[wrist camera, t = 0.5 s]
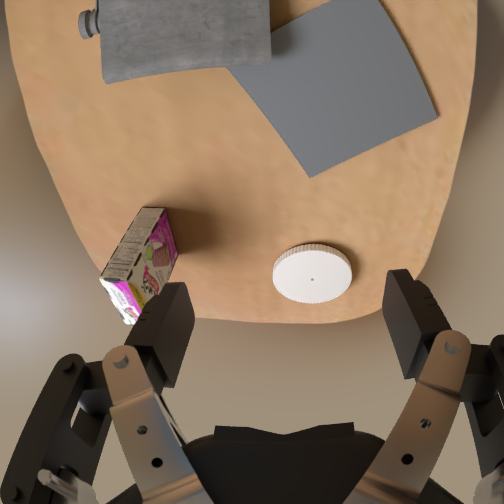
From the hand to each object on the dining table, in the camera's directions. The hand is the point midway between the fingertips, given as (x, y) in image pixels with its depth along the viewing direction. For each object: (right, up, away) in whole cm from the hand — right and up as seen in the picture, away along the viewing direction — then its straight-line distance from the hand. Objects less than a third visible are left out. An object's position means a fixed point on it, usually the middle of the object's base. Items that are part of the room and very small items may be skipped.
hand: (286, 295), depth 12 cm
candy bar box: (-17, +5, +40) cm, 44 cm away
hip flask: (0, +28, +12) cm, 31 cm away
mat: (+9, +22, +19) cm, 30 cm away
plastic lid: (+10, -1, +42) cm, 43 cm away
